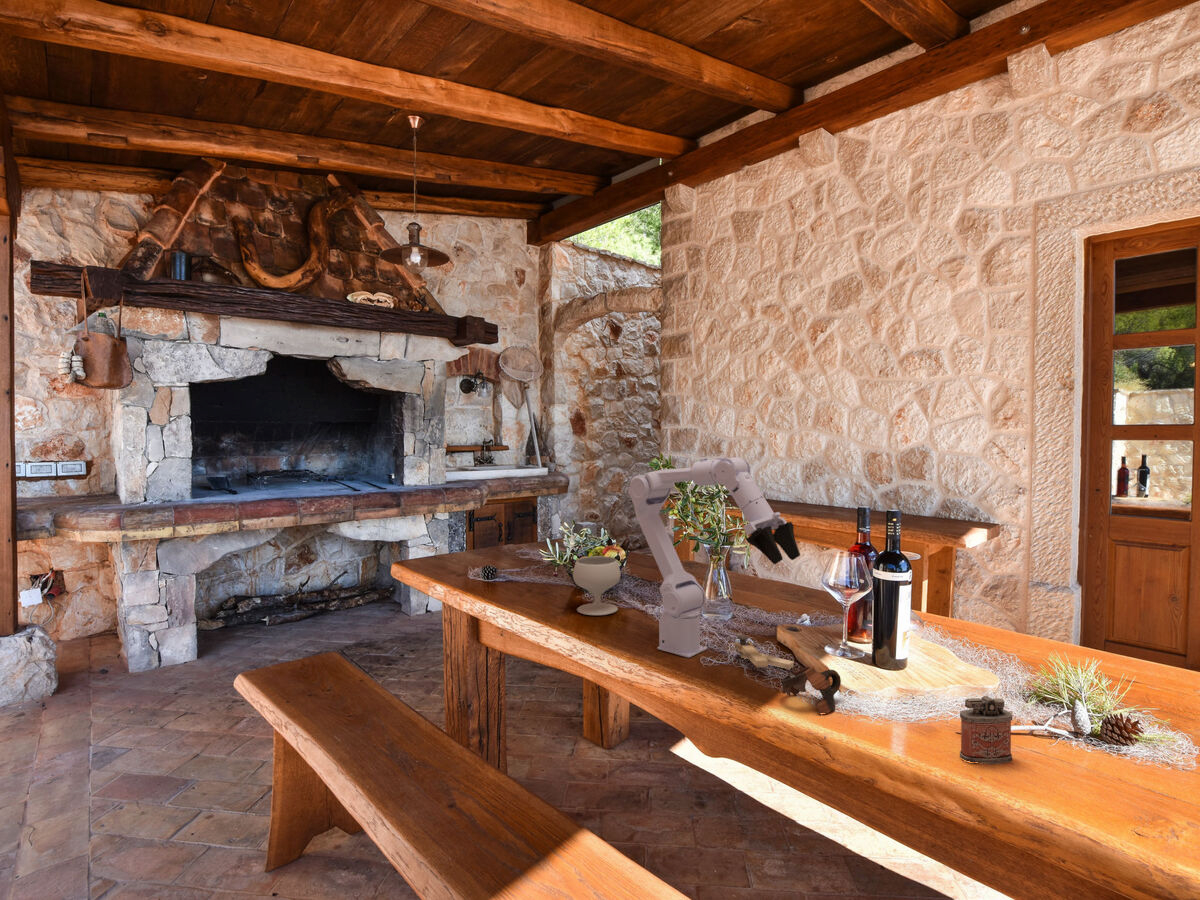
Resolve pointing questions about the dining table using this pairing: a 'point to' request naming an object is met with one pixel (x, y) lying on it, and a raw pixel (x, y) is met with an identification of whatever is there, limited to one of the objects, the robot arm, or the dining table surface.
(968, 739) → the lighter
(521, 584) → the dining table surface
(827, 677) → the dark brown angled piece
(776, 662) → the tongs base
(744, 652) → the bar
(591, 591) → the chalice
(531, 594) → the dining table surface
